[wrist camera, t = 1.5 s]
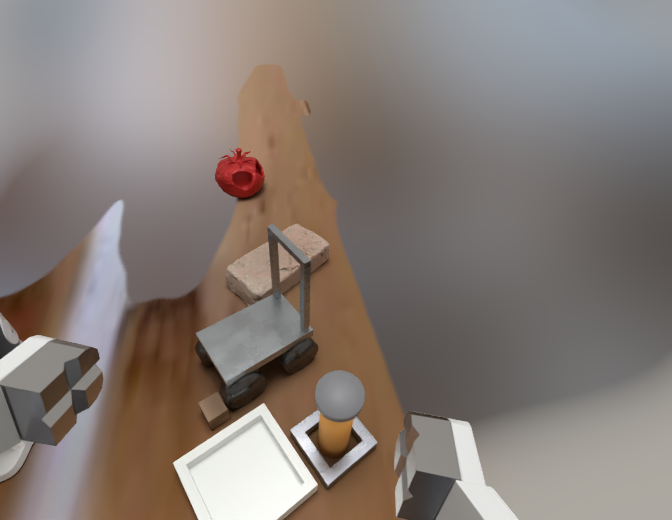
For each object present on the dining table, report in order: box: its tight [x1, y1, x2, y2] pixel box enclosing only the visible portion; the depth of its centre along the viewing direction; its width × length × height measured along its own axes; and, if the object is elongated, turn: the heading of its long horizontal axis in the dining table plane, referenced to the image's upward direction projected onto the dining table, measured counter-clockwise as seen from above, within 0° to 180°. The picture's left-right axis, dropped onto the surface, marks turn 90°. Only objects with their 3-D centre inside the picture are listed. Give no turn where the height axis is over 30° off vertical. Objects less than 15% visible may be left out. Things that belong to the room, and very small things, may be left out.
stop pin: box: [315, 370, 365, 458], centre depth 40 cm, size 5×5×12 cm
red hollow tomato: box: [215, 148, 265, 198], centre depth 78 cm, size 10×10×9 cm
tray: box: [173, 403, 318, 520], centre depth 40 cm, size 11×11×2 cm
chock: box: [198, 392, 230, 430], centre depth 45 cm, size 2×3×2 cm
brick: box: [226, 224, 329, 306], centre depth 62 cm, size 16×8×5 cm, turn 139°
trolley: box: [195, 224, 318, 408], centre depth 45 cm, size 13×9×19 cm
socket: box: [290, 410, 377, 489], centre depth 44 cm, size 7×7×2 cm
